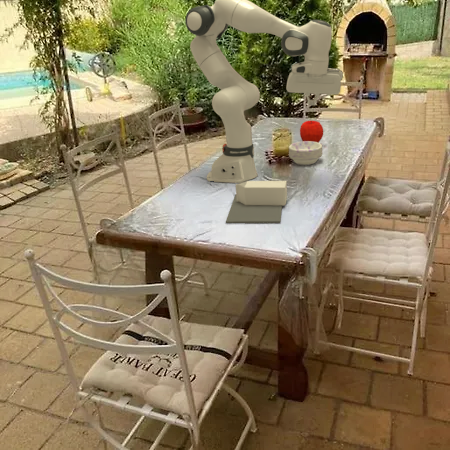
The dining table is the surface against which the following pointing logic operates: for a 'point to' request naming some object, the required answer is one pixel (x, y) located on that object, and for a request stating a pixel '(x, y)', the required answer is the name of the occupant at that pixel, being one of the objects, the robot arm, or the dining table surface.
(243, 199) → the milk carton
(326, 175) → the dining table surface
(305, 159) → the paper bowls
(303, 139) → the apple
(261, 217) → the mat
